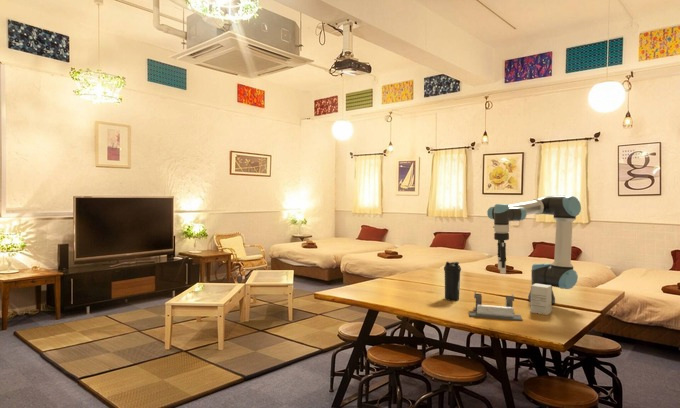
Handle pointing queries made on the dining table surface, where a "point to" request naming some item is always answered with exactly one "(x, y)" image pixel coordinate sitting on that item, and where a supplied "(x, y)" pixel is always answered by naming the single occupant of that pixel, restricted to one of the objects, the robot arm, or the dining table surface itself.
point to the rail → (495, 310)
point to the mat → (516, 317)
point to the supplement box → (541, 298)
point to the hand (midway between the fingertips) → (501, 271)
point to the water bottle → (452, 281)
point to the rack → (479, 300)
